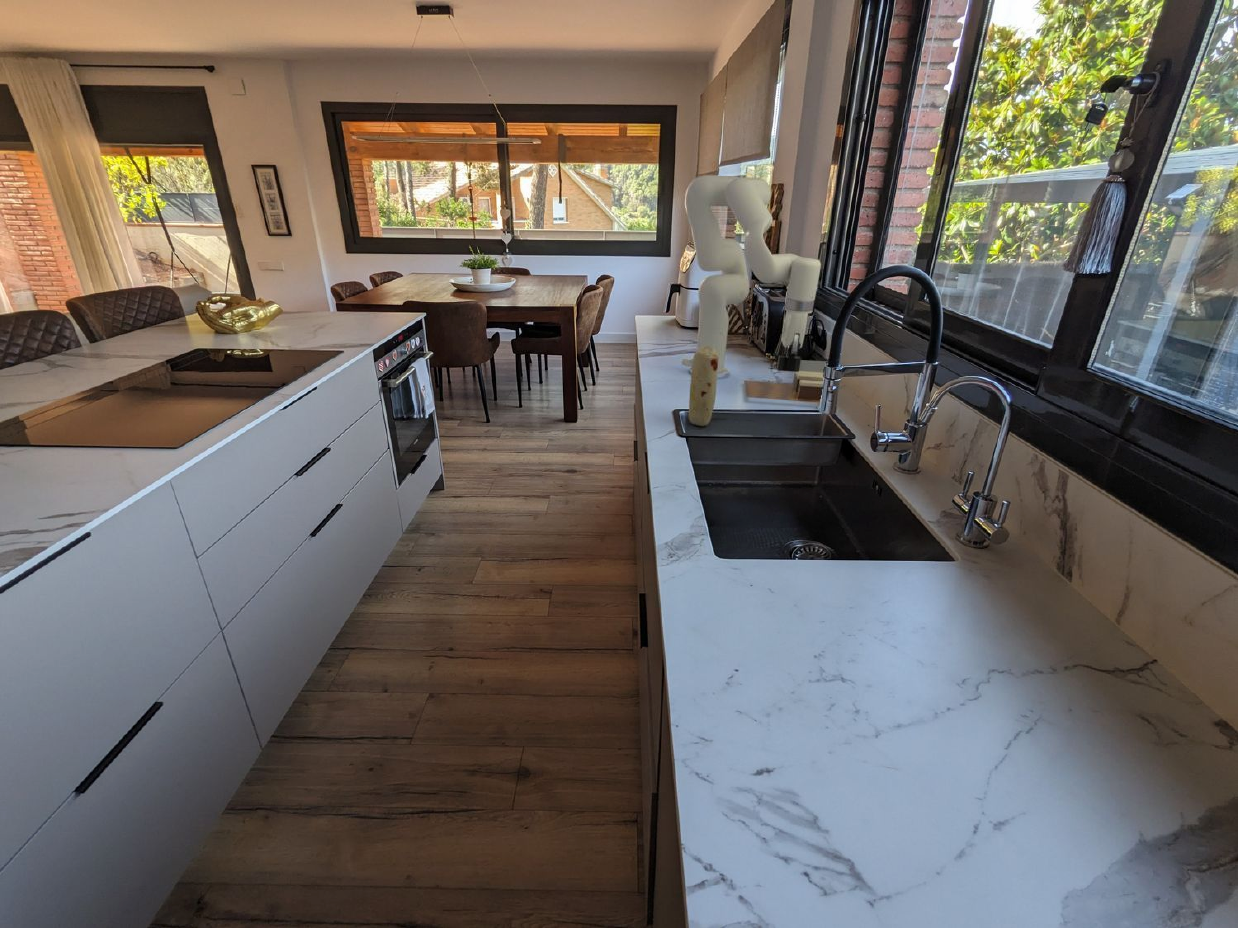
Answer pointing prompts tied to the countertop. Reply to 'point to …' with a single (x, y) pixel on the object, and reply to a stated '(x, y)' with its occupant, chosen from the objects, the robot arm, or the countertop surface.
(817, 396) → the cake slice
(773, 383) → the cutting board
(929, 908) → the countertop surface
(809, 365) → the knife
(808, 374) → the cake
